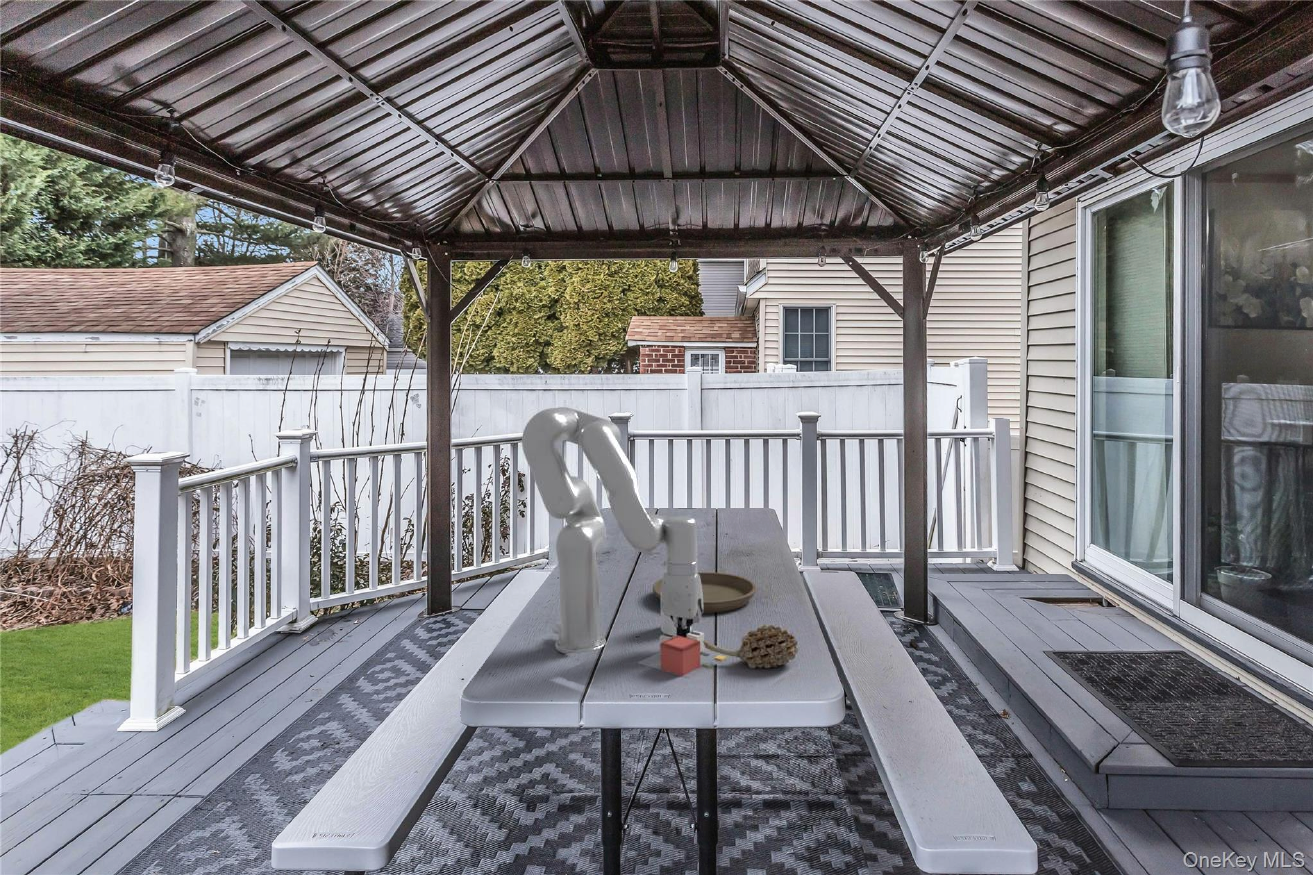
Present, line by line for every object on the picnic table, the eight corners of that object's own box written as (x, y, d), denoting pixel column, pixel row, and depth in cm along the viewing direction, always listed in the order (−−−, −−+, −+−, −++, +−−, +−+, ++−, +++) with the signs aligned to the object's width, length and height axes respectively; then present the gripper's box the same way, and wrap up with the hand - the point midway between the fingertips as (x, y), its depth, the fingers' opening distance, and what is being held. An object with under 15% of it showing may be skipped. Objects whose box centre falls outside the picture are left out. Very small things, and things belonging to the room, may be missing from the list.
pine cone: (796, 660, 178) (795, 619, 177) (800, 677, 168) (800, 633, 168) (701, 659, 180) (701, 618, 179) (700, 675, 170) (700, 632, 169)
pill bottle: (697, 632, 199) (697, 576, 198) (677, 640, 193) (676, 582, 192) (675, 626, 204) (674, 571, 203) (654, 633, 198) (653, 577, 197)
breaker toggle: (686, 651, 182) (686, 633, 181) (694, 647, 184) (694, 629, 184) (696, 654, 180) (696, 635, 180) (704, 650, 182) (704, 632, 182)
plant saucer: (747, 619, 209) (747, 603, 209) (639, 612, 218) (639, 596, 218) (763, 589, 239) (763, 574, 239) (668, 583, 248) (668, 569, 247)
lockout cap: (660, 669, 172) (660, 643, 171) (678, 660, 177) (677, 635, 176) (683, 675, 168) (682, 649, 167) (700, 666, 173) (700, 641, 172)
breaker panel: (637, 666, 176) (636, 642, 176) (684, 644, 190) (684, 622, 189) (689, 682, 166) (688, 657, 166) (734, 658, 180) (734, 634, 180)
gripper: (648, 567, 185) (649, 641, 186) (697, 576, 175) (699, 653, 177) (667, 561, 191) (668, 632, 192) (716, 569, 181) (717, 644, 183)
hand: (683, 642), depth 184 cm, fingers closed
